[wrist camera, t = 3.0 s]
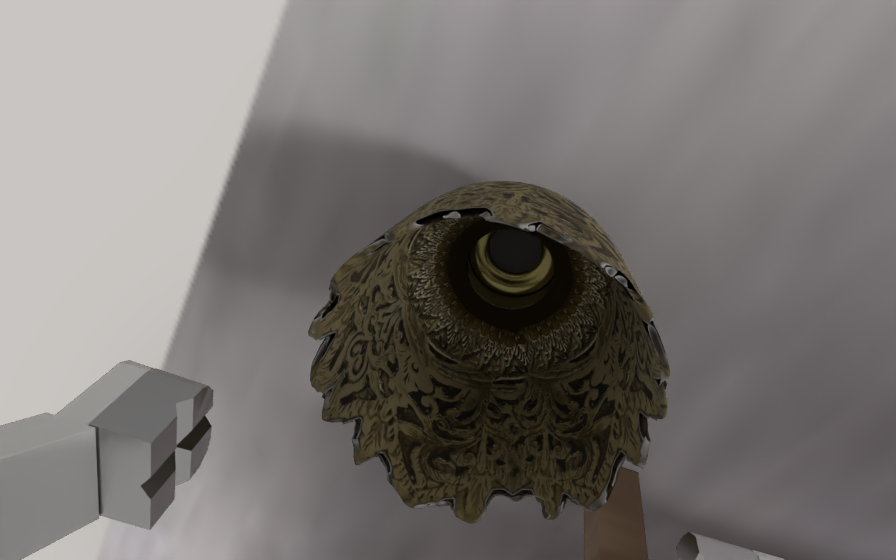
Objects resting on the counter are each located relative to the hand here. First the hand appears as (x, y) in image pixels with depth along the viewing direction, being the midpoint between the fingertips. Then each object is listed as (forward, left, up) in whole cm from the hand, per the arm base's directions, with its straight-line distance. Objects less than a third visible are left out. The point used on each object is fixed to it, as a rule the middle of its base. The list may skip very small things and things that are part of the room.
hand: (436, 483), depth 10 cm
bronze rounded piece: (0, 0, -11) cm, 11 cm away
